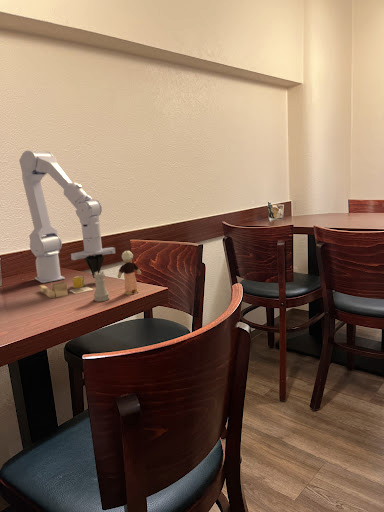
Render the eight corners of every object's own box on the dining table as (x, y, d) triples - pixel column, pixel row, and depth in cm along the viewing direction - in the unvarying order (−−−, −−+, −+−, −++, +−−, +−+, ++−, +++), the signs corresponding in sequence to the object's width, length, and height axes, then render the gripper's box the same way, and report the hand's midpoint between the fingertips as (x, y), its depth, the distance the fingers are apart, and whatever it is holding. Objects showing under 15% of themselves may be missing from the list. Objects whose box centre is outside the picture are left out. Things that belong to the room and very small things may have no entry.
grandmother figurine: (135, 289, 123) (131, 248, 121) (144, 290, 121) (140, 249, 118) (116, 295, 117) (112, 252, 115) (125, 297, 115) (121, 253, 112)
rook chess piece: (106, 302, 111) (103, 274, 110) (91, 302, 112) (88, 274, 111) (112, 297, 116) (109, 270, 114) (97, 297, 116) (95, 270, 115)
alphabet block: (85, 284, 132) (84, 275, 132) (82, 287, 129) (81, 278, 129) (75, 285, 132) (74, 276, 132) (73, 288, 129) (72, 278, 129)
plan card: (69, 290, 125) (69, 290, 125) (87, 287, 129) (87, 286, 129) (74, 294, 121) (74, 293, 121) (93, 289, 125) (93, 289, 125)
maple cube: (52, 295, 122) (51, 283, 121) (63, 292, 124) (62, 281, 123) (56, 297, 119) (54, 285, 118) (67, 294, 121) (66, 283, 120)
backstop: (40, 291, 127) (39, 285, 127) (43, 290, 128) (43, 284, 128) (51, 298, 118) (50, 292, 118) (55, 297, 119) (54, 291, 118)
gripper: (74, 241, 124) (79, 284, 127) (117, 235, 132) (121, 275, 135) (66, 239, 130) (71, 280, 132) (108, 233, 138) (112, 272, 140)
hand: (96, 277), depth 134 cm, fingers closed
